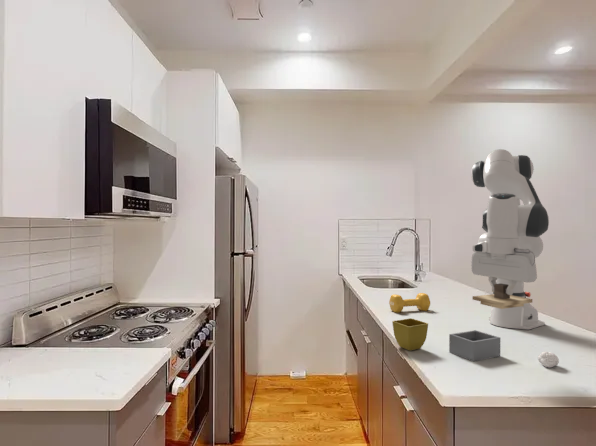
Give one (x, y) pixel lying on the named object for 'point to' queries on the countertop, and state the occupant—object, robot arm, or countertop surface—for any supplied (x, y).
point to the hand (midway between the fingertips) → (502, 293)
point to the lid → (501, 298)
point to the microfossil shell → (548, 359)
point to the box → (474, 345)
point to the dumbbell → (409, 302)
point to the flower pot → (410, 333)
